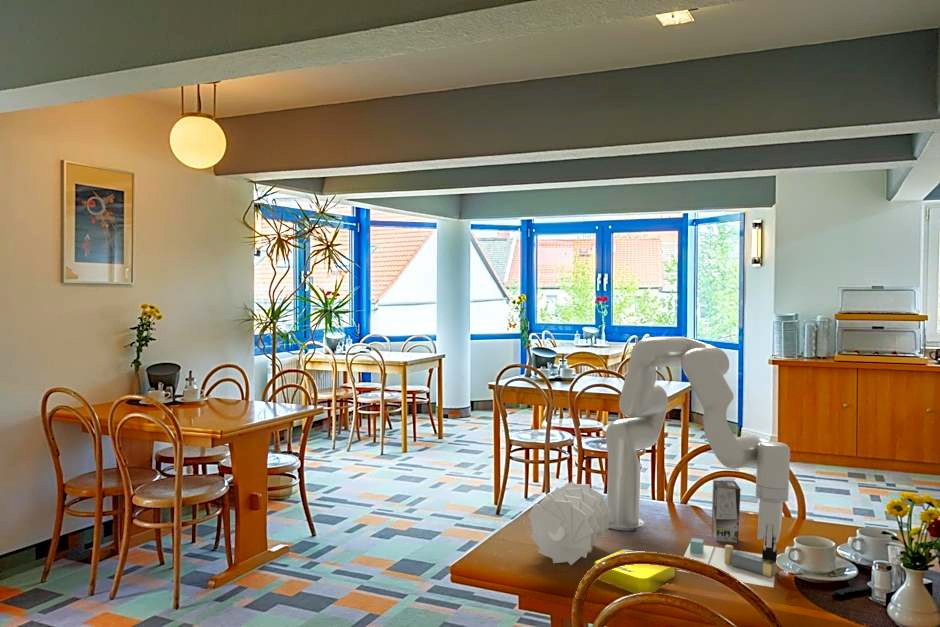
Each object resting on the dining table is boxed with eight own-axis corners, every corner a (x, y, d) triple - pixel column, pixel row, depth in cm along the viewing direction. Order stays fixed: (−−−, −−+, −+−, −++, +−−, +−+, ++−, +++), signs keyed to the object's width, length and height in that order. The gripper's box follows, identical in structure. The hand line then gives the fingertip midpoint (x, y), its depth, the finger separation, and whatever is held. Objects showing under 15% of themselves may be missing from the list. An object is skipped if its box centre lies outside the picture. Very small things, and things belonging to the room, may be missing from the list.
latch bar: (731, 565, 185) (731, 553, 185) (736, 562, 187) (737, 550, 187) (770, 577, 178) (771, 564, 178) (776, 574, 180) (776, 561, 180)
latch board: (676, 575, 181) (677, 552, 181) (689, 547, 202) (690, 527, 202) (773, 592, 172) (774, 568, 172) (776, 561, 193) (777, 540, 192)
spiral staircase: (595, 556, 204) (571, 584, 181) (541, 520, 211) (511, 542, 188) (626, 500, 201) (605, 521, 178) (570, 466, 208) (544, 481, 185)
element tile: (590, 579, 178) (590, 559, 178) (624, 564, 189) (624, 545, 189) (644, 598, 168) (645, 577, 168) (677, 581, 179) (678, 561, 178)
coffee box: (739, 547, 203) (741, 488, 203) (714, 544, 204) (716, 487, 204) (734, 536, 212) (736, 480, 212) (710, 534, 213) (712, 479, 213)
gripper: (757, 483, 191) (755, 553, 191) (753, 497, 177) (750, 573, 178) (789, 487, 188) (786, 558, 188) (787, 502, 174) (784, 578, 175)
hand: (769, 565), depth 183 cm, fingers closed
